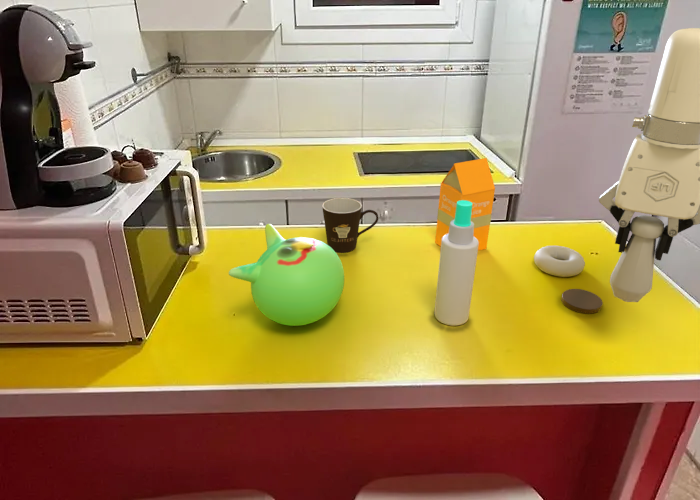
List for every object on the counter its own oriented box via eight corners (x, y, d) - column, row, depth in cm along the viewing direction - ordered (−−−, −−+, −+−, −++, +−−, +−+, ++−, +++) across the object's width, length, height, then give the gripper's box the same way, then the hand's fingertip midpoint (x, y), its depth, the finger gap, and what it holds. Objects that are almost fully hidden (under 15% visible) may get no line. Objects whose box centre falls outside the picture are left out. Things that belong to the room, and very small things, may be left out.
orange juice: (434, 242, 119) (442, 158, 110) (465, 235, 123) (475, 152, 113) (455, 257, 113) (465, 169, 104) (487, 248, 116) (499, 163, 107)
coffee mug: (316, 250, 115) (315, 209, 110) (332, 235, 122) (331, 195, 117) (365, 260, 111) (366, 218, 107) (378, 244, 118) (380, 203, 114)
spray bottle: (432, 307, 96) (443, 195, 85) (465, 308, 95) (480, 196, 85) (436, 326, 90) (448, 210, 80) (471, 327, 90) (487, 211, 80)
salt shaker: (631, 284, 83) (654, 209, 77) (656, 303, 78) (682, 225, 72) (598, 287, 83) (618, 212, 76) (621, 307, 78) (644, 228, 71)
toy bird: (328, 350, 84) (326, 272, 78) (232, 335, 88) (223, 259, 81) (353, 292, 100) (354, 223, 93) (271, 281, 103) (266, 214, 97)
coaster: (602, 299, 98) (604, 294, 98) (599, 317, 93) (600, 313, 92) (564, 289, 101) (565, 285, 101) (558, 307, 96) (559, 302, 95)
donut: (550, 283, 104) (593, 276, 106) (553, 268, 102) (597, 261, 104) (523, 259, 112) (564, 253, 114) (525, 245, 111) (567, 240, 113)
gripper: (604, 128, 69) (575, 250, 78) (756, 146, 62) (707, 277, 71) (608, 117, 75) (581, 231, 83) (748, 131, 68) (703, 254, 76)
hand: (639, 251), depth 77 cm, fingers closed on salt shaker, 4 cm apart
